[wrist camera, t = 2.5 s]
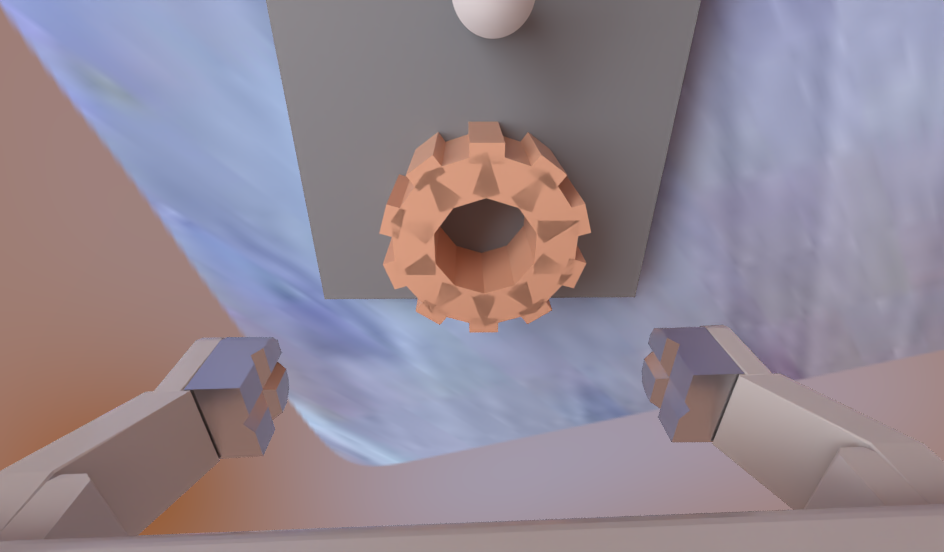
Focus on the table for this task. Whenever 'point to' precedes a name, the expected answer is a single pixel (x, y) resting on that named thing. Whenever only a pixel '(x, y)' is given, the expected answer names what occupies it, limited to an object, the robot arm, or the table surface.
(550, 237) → the loose gear
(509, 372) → the table surface
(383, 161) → the gear board
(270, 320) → the table surface
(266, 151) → the table surface
